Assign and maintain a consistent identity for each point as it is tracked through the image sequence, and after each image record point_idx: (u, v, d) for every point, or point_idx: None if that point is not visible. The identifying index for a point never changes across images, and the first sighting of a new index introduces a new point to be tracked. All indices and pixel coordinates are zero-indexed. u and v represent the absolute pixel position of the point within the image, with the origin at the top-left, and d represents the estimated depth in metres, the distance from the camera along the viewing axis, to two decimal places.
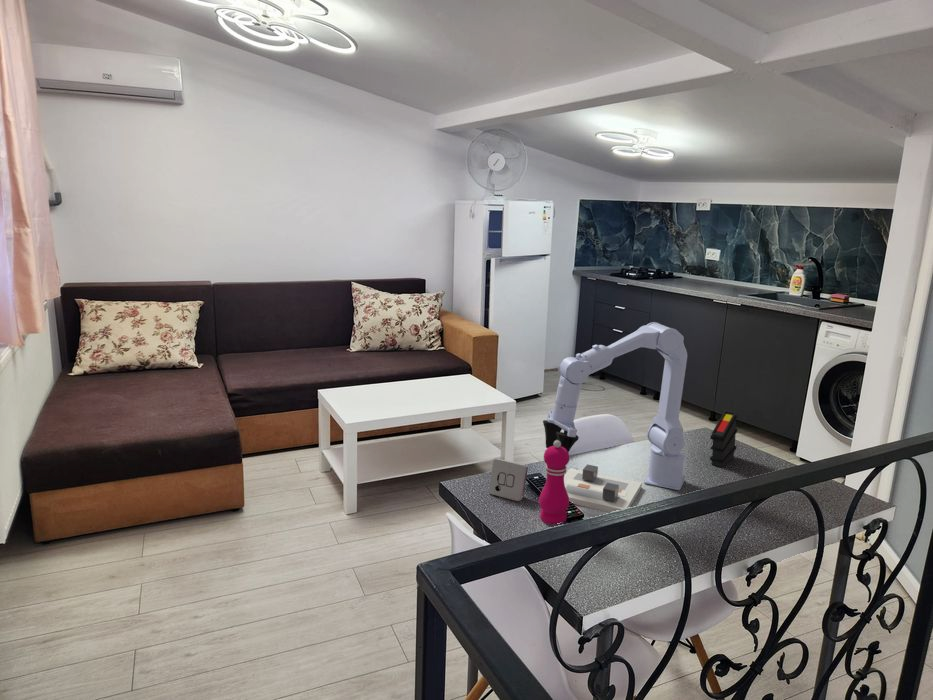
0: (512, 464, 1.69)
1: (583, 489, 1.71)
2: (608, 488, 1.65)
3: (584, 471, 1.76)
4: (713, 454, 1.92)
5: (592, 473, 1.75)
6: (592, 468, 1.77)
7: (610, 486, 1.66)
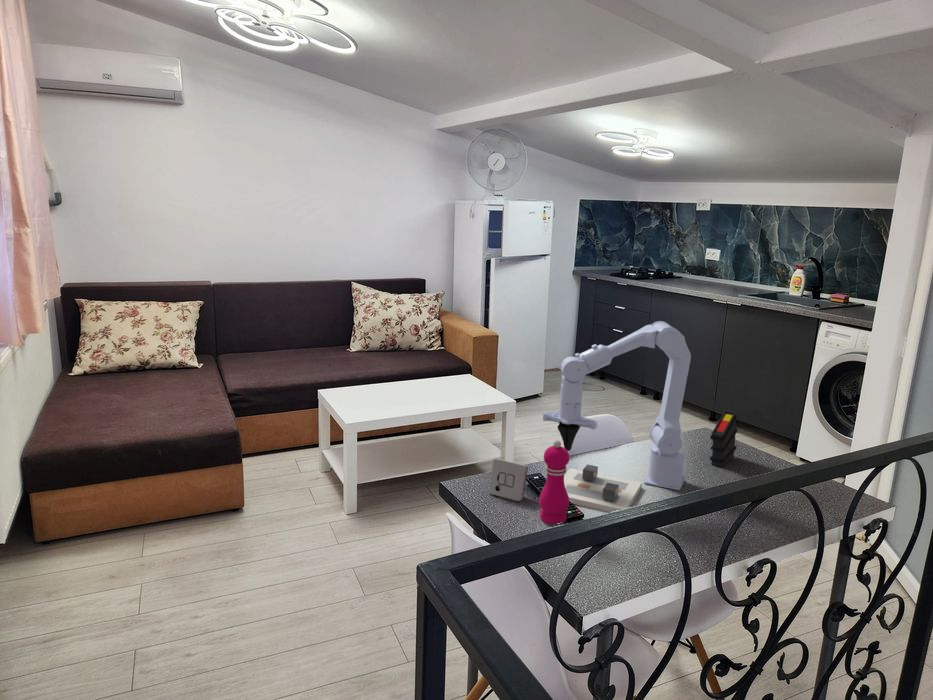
0: (512, 464, 1.69)
1: (583, 489, 1.71)
2: (608, 488, 1.65)
3: (584, 471, 1.76)
4: (713, 454, 1.92)
5: (592, 473, 1.75)
6: (592, 468, 1.77)
7: (610, 486, 1.66)
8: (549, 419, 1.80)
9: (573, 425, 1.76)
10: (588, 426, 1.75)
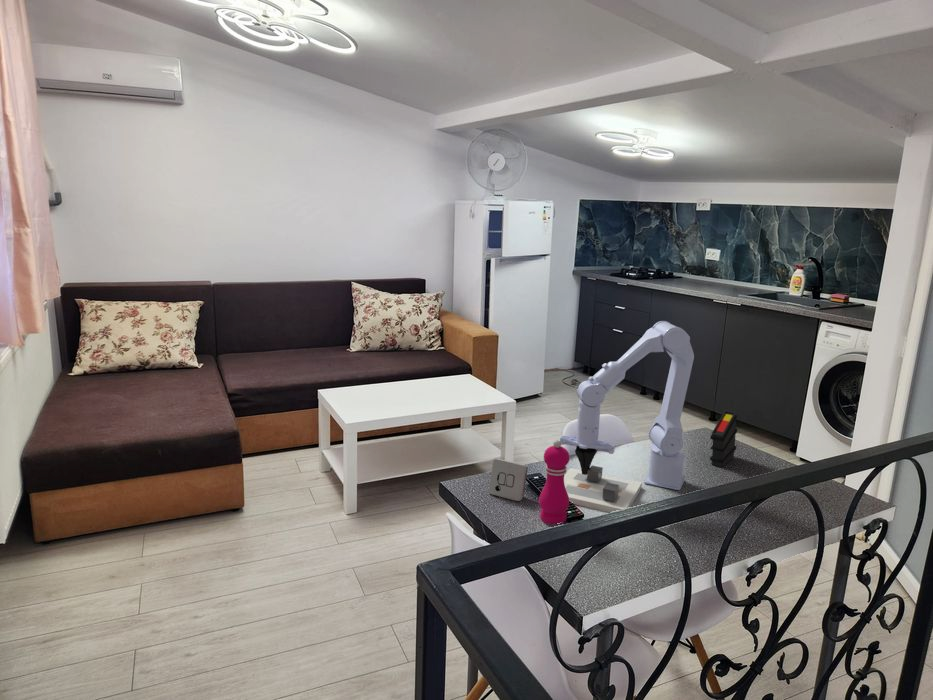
0: (512, 464, 1.69)
1: (583, 489, 1.71)
2: (608, 488, 1.65)
3: (589, 472, 1.76)
4: (713, 454, 1.92)
5: (597, 474, 1.75)
6: (597, 469, 1.76)
7: (610, 486, 1.66)
8: (566, 443, 1.79)
9: (590, 449, 1.75)
10: (606, 450, 1.74)
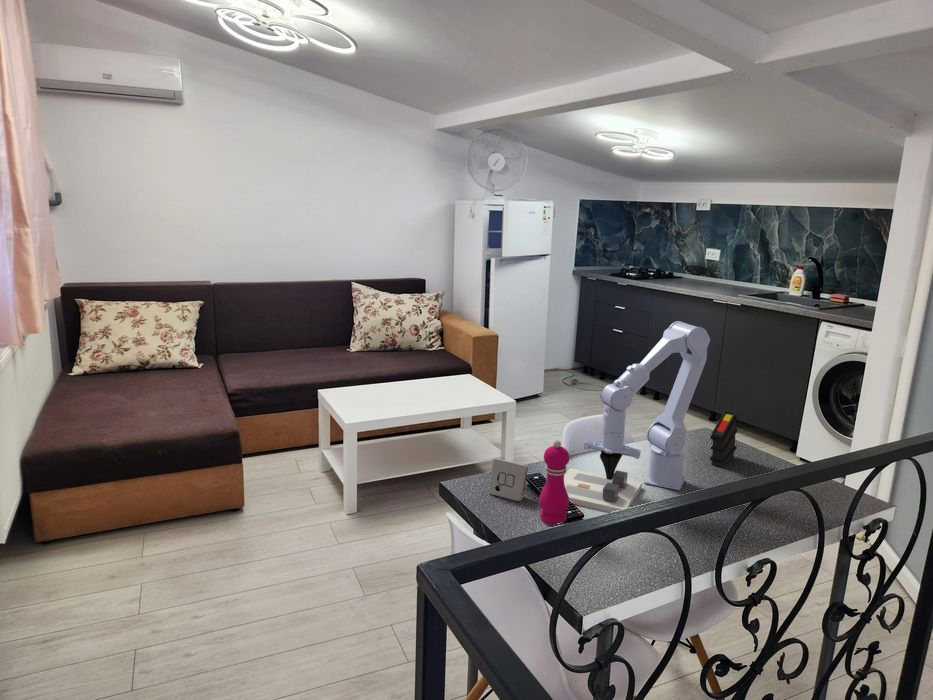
0: (512, 464, 1.69)
1: (583, 489, 1.71)
2: (608, 488, 1.65)
3: (614, 477, 1.73)
4: (713, 454, 1.92)
5: (622, 479, 1.72)
6: (622, 474, 1.74)
7: (610, 486, 1.66)
8: (590, 447, 1.76)
9: (616, 454, 1.72)
10: (631, 455, 1.71)
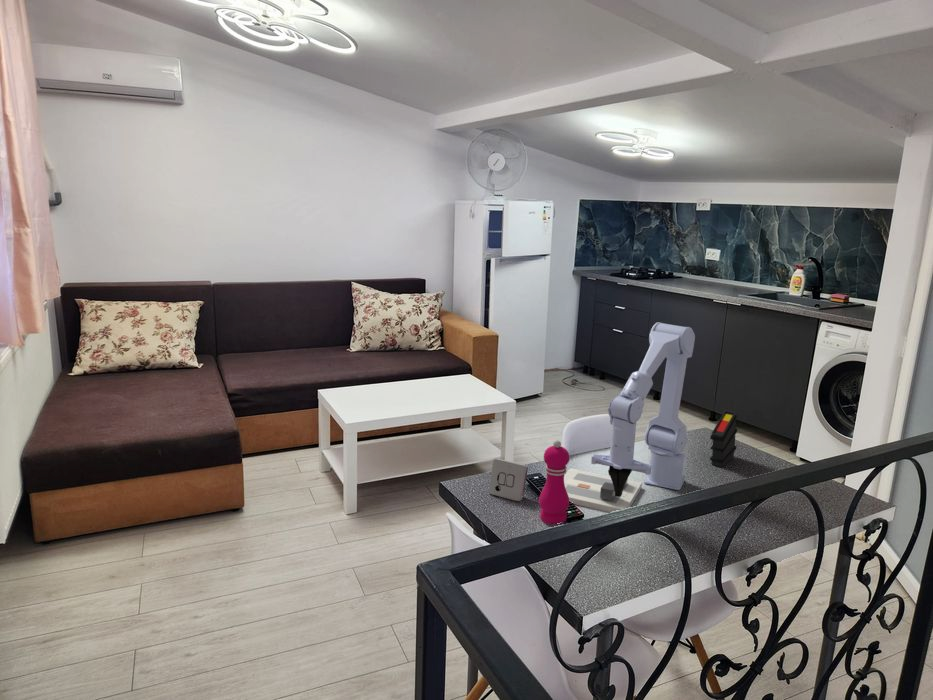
0: (512, 464, 1.69)
1: (583, 489, 1.71)
2: (606, 488, 1.65)
3: None
4: (713, 454, 1.92)
5: None
6: None
7: (608, 485, 1.67)
8: (598, 462, 1.66)
9: (625, 469, 1.62)
10: (642, 471, 1.61)
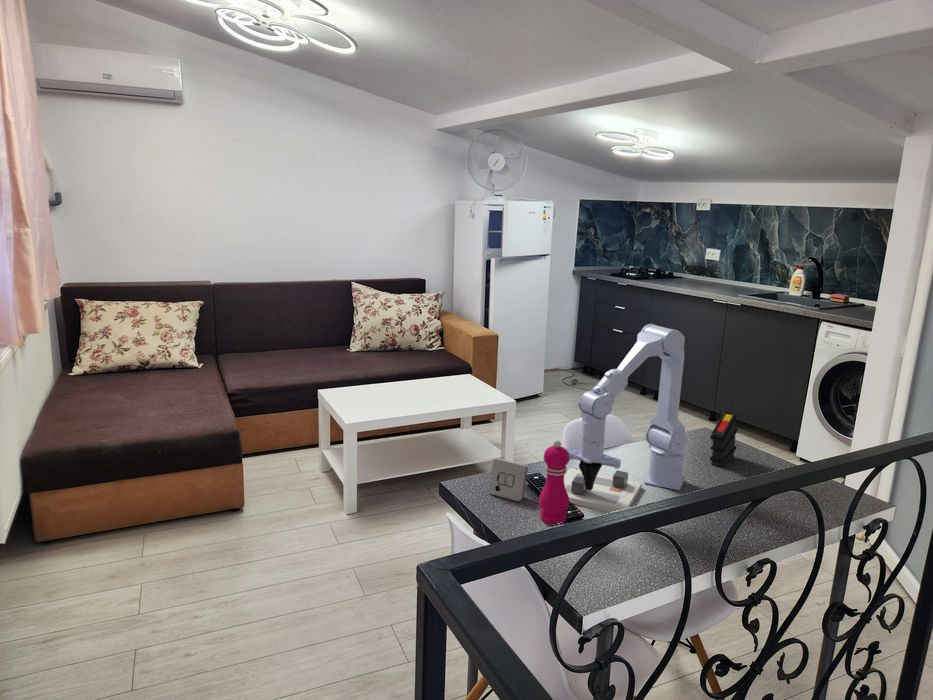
0: (512, 464, 1.69)
1: None
2: (577, 481, 1.68)
3: (614, 477, 1.73)
4: (713, 454, 1.92)
5: (623, 479, 1.72)
6: (622, 474, 1.73)
7: (579, 479, 1.70)
8: (569, 456, 1.69)
9: (595, 463, 1.66)
10: (611, 465, 1.64)
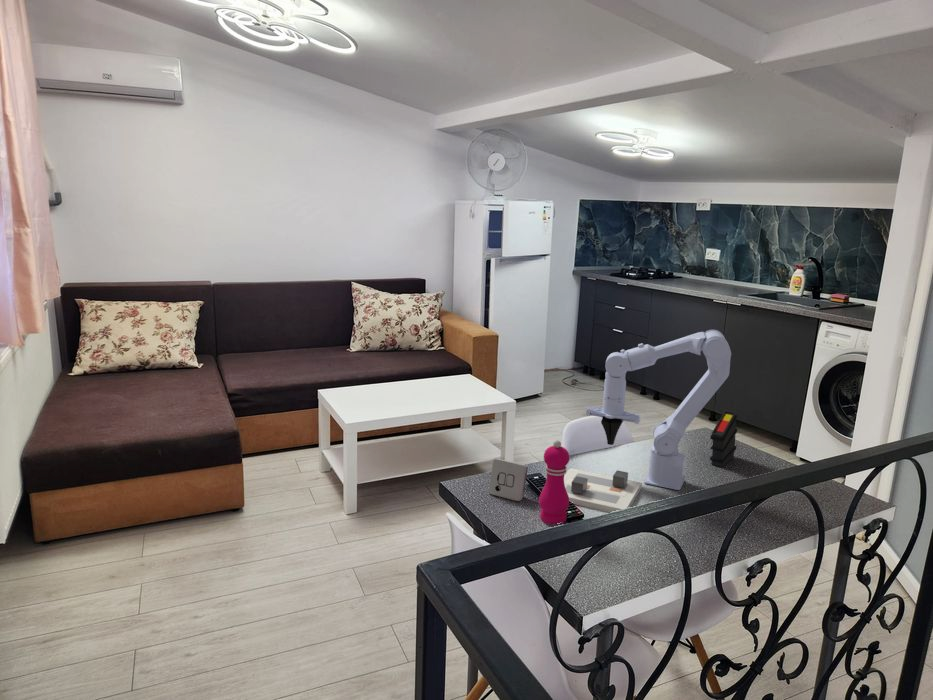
0: (512, 464, 1.69)
1: None
2: (577, 481, 1.69)
3: (614, 477, 1.73)
4: (713, 454, 1.92)
5: (623, 479, 1.72)
6: (622, 474, 1.73)
7: (579, 479, 1.70)
8: (592, 414, 1.83)
9: (616, 419, 1.79)
10: (631, 420, 1.78)
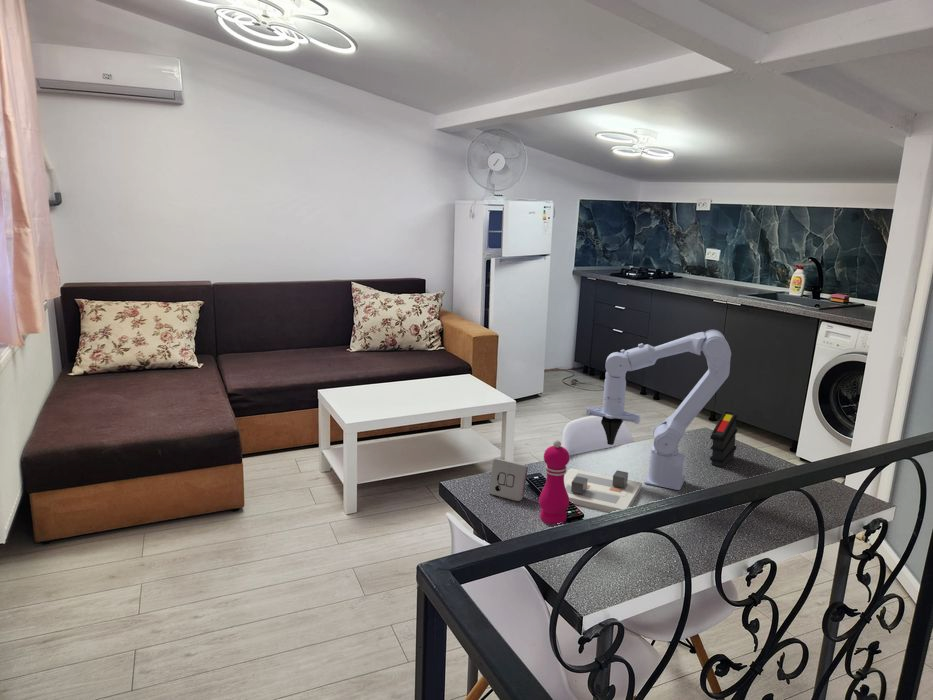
0: (512, 464, 1.69)
1: None
2: (577, 481, 1.69)
3: (614, 477, 1.73)
4: (713, 454, 1.92)
5: (623, 479, 1.72)
6: (622, 474, 1.73)
7: (579, 479, 1.70)
8: (592, 414, 1.83)
9: (616, 419, 1.79)
10: (631, 420, 1.78)
